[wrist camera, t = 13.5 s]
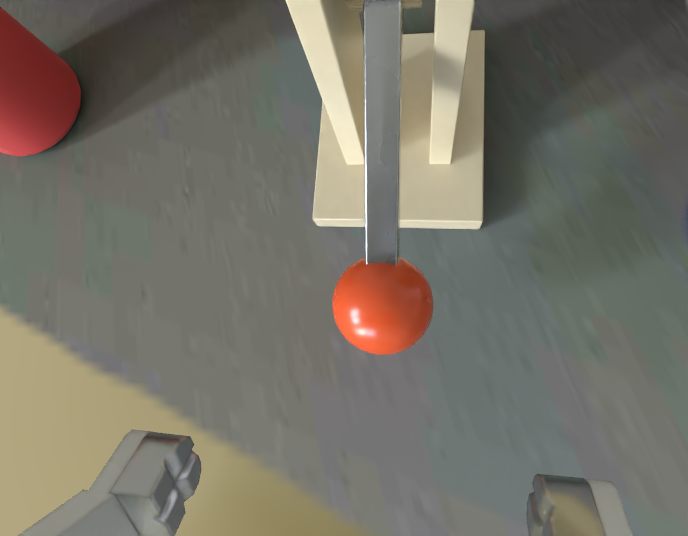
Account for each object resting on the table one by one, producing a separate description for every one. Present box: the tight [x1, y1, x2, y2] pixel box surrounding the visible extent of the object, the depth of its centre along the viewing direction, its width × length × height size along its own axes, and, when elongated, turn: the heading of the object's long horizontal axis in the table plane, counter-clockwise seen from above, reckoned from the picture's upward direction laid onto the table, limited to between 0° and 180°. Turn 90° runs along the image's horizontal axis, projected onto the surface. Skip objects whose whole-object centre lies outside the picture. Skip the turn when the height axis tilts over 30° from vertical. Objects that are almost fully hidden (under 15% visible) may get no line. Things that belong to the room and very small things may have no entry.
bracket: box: [286, 0, 485, 229], centre depth 17 cm, size 10×8×13 cm
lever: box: [333, 0, 433, 355], centre depth 15 cm, size 14×4×4 cm, turn 175°
